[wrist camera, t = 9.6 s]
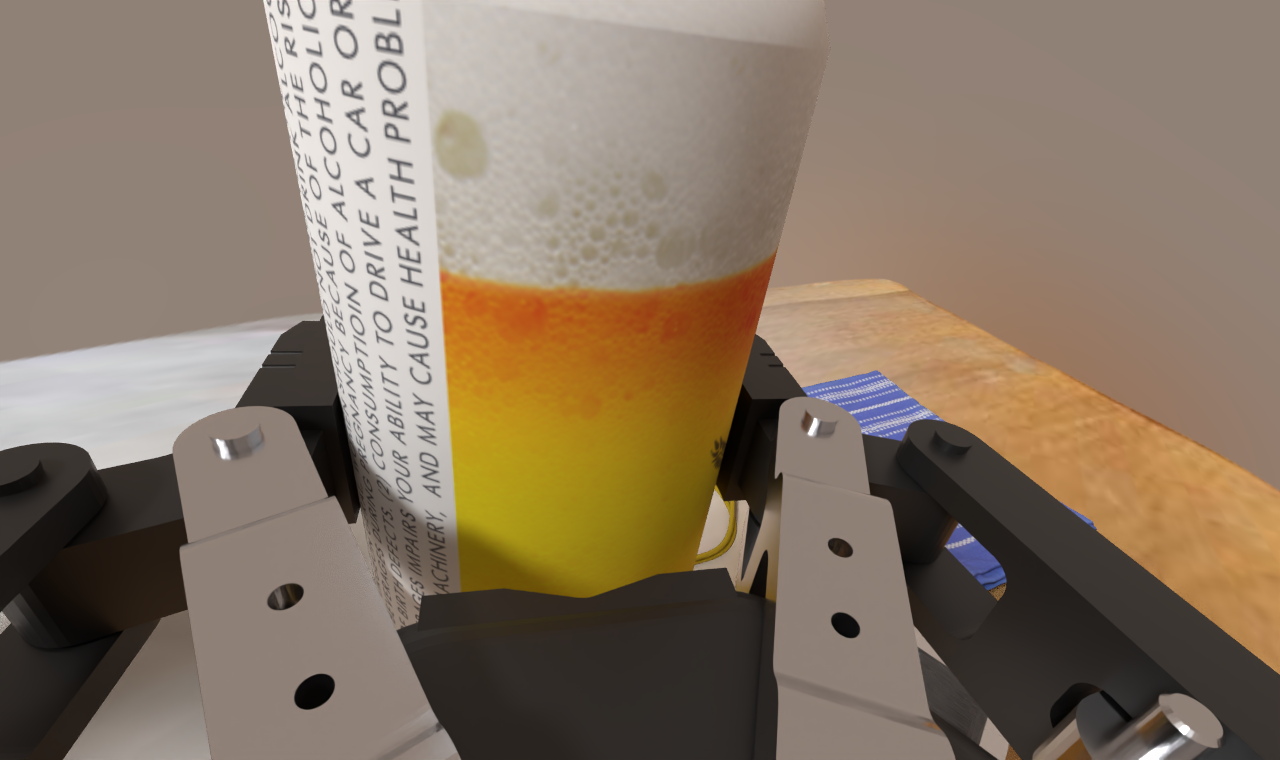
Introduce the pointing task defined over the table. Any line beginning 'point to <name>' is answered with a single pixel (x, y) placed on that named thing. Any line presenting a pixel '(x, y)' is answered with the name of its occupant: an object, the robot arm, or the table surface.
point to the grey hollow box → (957, 702)
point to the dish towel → (889, 417)
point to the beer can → (542, 266)
